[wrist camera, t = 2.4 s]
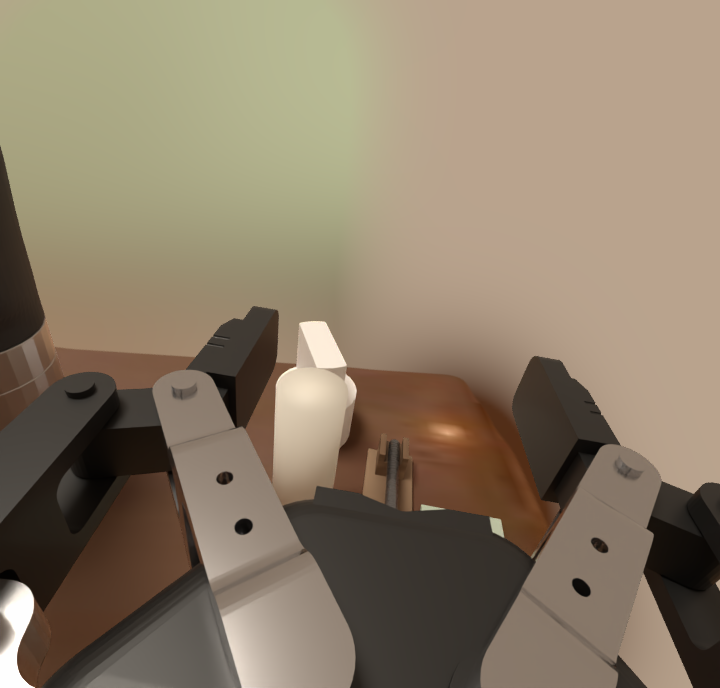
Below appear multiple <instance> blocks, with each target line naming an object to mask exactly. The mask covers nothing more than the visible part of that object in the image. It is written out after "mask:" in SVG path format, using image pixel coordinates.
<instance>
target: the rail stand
mask: <svg viewBox="0 0 720 688" xmlns="http://www.w3.org/2000/svg"><path fill="white" fill-rule="evenodd" d="M388 446H389V441H387V434H383V433H382V434H381V438H380V442H379V447H378V450H375V449H368V453H367V461H366V469H365V477H364V485H363V492H362V495H364V496H367V497H369V498H371V499H374V500H376V501H378V502H381V503H383V504H384V503H385V488H386V474H387V460H388ZM398 510H400V511H412V456H409V438H404V437H403V441H402V444H400V456H399V483H398Z"/></svg>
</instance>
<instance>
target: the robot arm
mask: <svg viewBox="0 0 720 688" xmlns="http://www.w3.org/2000/svg"><path fill="white" fill-rule="evenodd" d="M278 319H279V315H278V311H277V310H273V309H268V308H262V307H256V306H253V307H252V308H251V310H250V311H249V313H248V314H247V315H246V317H245V318H244V319H243V320H240V319H232V320H230V321H228V322H227V323H225V324H223V325H221V326H220V327H219V329H218V330H217V331H216V332H215V334H214V336H213V337H212V338H211V339H210V340H209V341H208V343H207V345H205V346H204V348H203V349H202V350H201V351H200V353H199V354H198V355H197V356H196V357H195V359H194V360H193V361H192V363H191V364H190V365H189V366H188V368H187V369H186V370H180V371H175V372H172V373H169V374H167V375H165V376H163V377H162V378H160V379H159V380H158V381H157V382H156V383H155V384H154V386H153V388H146V389H126V390H117V388H116V384H115V381H114V379H113V378H112V377H110V376H109V375H106V374H103V373H99V372H84V373H78V374H74V375H70V376H67V377H65V378H64V375H63V372H62V369H61V366H60V362H59V359H58V356H57V353H56V350H55V347H54V343H53V340H52V337H51V334H50V330H49V327H48V324H47V321H46V318H45V315H44V311H43V308H42V305H41V302H40V298H39V295H38V292H37V288H36V284H35V280H34V276H33V272H32V269H31V266H30V262H29V259H28V255H27V252H26V248H25V245H24V242H23V238H22V235H21V231H20V227H19V222H18V219H17V214H16V211H15V206H14V202H13V198H12V193H11V189H10V184H9V180H8V176H7V171H6V167H5V162H4V158H3V154H2V151H1V147H0V688H37V679H38V674H39V670H40V667H41V664H42V662H43V660H44V658H45V655H46V653H47V651H48V648H49V645H50V642H51V627H50V624H49V622H48V620H47V618H46V616H45V615H44V613H43V611H44V610H45V608H46V607H47V605H48V604H49V602H50V600H51V599H52V597H53V596H54V594H55V593H56V591H57V590H58V588H59V586H60V585H61V583H62V582H63V580H64V579H65V577H66V575H67V574H68V572H69V571H70V569H71V568H72V566H73V564H74V563H75V561H76V560H77V558H78V557H79V555H80V553H81V552H82V550H83V549H84V547H85V546H86V544H87V543H88V541H89V539H90V538H91V536H92V535H93V533H94V532H95V530H96V528H97V527H98V525H99V524H100V522H101V521H102V519H103V517H104V516H105V514H106V513H107V511H108V510H109V508H110V506H111V505H112V503H113V502H114V500H115V499H116V497H117V496H118V494H119V492H120V491H121V489H122V488H123V486H124V485H125V483H126V481H127V480H128V478H129V477H130V475H136V474H147V473H157V472H166V473H167V477H168V481H169V485H170V489H171V493H172V496H173V500H174V504H175V508H176V512H177V515H178V519H179V523H180V527H181V531H182V535H183V540H184V545H185V550H186V554H187V558H188V563H189V567H190V570H189V571H188V572H187V573H185V574H184V575H183V576H181V577H180V578H179V579H177V580H176V581H175V582H173V583H172V584H170V585H169V586H168V587H166V588H165V589H164V590H162V591H161V592H160V593H158V594H157V595H156V596H154V597H153V598H152V599H150V600H149V601H148V602H146V603H145V604H144V605H142V606H141V607H140V608H138V609H137V610H136V611H134V612H133V613H132V614H130V615H129V616H127V617H126V618H125V619H123V620H122V621H121V622H119V623H118V624H117V625H115V626H114V627H113V628H111V629H110V630H109V631H107V632H106V633H105V634H103V635H102V636H101V637H99V638H98V639H97V640H95V641H94V642H93V643H91V644H90V645H89V646H87V647H86V648H84V649H83V650H82V651H80V652H79V653H78V654H76V655H75V656H74V657H73V658H71V659H70V660H69V661H68V662H67V663H65V664H64V665H63V666H62V667H61V668H60V669H59V670H58V671H57V672H56V673H54V675H53V676H52V677H51V678H50V679H49V680H48V681H47V682H46V683H45V684H44V685H43V686H42V688H647V687H646V686H645V685H644V684H643V682H642V681H641V680H640V679H639V678H638V677H637V676H636V675H635V673H634V672H633V671H632V670H631V669H630V668H629V667H628V666H627V665H626V663H625V662H624V661H623V660H622V659H621V658H620V657H619V655H618V652H619V649H620V646H621V643H622V639H623V636H624V633H625V629H626V626H627V623H628V620H629V617H630V613H631V610H632V607H633V603H634V600H635V597H636V593H637V590H638V587H639V584H640V581H641V577H642V574H643V573H644V575H645V577H646V579H647V582H648V584H649V587H650V589H651V591H652V594H653V596H654V598H655V600H656V602H657V605H658V607H659V610H660V612H661V614H662V617H663V619H664V621H665V623H666V626H667V628H668V630H669V633H670V635H671V637H672V640H673V642H674V644H675V647H676V649H677V651H678V654H679V656H680V658H681V660H682V663H683V665H684V667H685V670H686V672H687V674H688V677H689V679H690V681H691V684H692V686H693V688H720V591H719V589H718V587H717V585H716V584H715V583H716V582H717V581H718V580H720V484H717V483H705V484H703V485H702V486H701V487H700V488H699V489H698V490H697V491H696V492H695V493H694V494H692V493H690V492H687V491H685V490H682V489H680V488H677V487H675V486H672V485H670V484H667V483H665V482H662V481H661V476H660V474H659V472H658V471H657V469H656V468H655V467H654V466H653V465H652V464H651V463H650V462H649V461H648V460H647V459H646V458H644V457H643V456H642V455H640V454H638V453H637V452H635V451H633V450H631V449H629V448H626V447H623V446H621V445H620V443H619V442H618V440H617V438H616V437H615V435H614V433H613V432H612V430H611V428H610V427H609V425H608V423H607V422H606V420H605V419H604V417H603V416H602V415H601V412H600V410H599V408H598V407H597V405H595V402H594V400H593V398H592V397H591V395H590V393H589V392H588V390H586V389H585V388H584V387H583V386H582V385H581V384H580V383H579V382H577V380H575V379H572V378H571V377H570V376H569V374H568V372H567V370H566V368H565V367H564V365H563V363H562V362H561V361H560V360H555V359H550V358H543V357H538V356H534V357H533V358H532V359H531V360H530V362H529V364H528V366H527V368H526V371H525V373H524V375H523V377H522V379H521V382H520V384H519V386H518V388H517V391H516V393H515V395H514V399H513V406H512V409H513V415H514V418H515V421H516V424H517V428H518V430H519V433H520V437H521V440H522V443H523V446H524V449H525V452H526V455H527V458H528V461H529V464H530V468H531V470H532V474H533V477H534V480H535V483H536V486H537V489H538V492H539V495H540V498H541V500H544V501H550V502H555V503H559V505H560V510H559V511H558V513H557V514H556V516H555V518H554V519H553V521H552V523H551V524H550V526H549V528H548V529H547V531H546V533H545V534H544V536H543V538H542V539H541V541H540V543H539V544H538V546H537V548H536V550H535V551H534V553H533V555H532V556H531V557H530V556H529V555H527V554H526V553H525V552H524V551H523V550H521V549H520V548H519V547H518V546H516V545H515V544H513V543H512V542H510V541H509V540H507V539H505V538H503V537H501V536H500V535H498V534H496V533H493V532H492V527H491V522H490V517H488V516H483V515H477V514H471V513H466V512H460V511H455V510H449V509H440V510H423V511H400V510H398V509H395V508H393V507H390V506H388V505H386V504H383V503H381V502H378V501H376V500H374V499H371V498H369V497H367V496H364V495H362V494H359V493H354V492H349V491H343V490H337V489H332V488H326V487H321V486H317V487H316V491H315V496H314V499H309V500H301V501H295V502H292V503H289V504H285V505H283V506H282V504H281V502H280V500H279V498H278V496H277V494H276V492H275V490H274V488H273V486H272V484H271V482H270V480H269V477H268V475H267V473H266V471H265V469H264V467H263V465H262V463H261V461H260V459H259V457H258V455H257V453H256V451H255V449H254V447H253V445H252V443H251V441H250V439H249V436H248V434H247V432H246V431H245V428H246V426H247V424H248V422H249V420H250V417H251V415H252V413H253V411H254V409H255V407H256V405H257V403H258V401H259V399H260V397H261V395H262V393H263V390H264V388H265V386H266V384H267V382H268V380H269V378H270V376H271V374H272V372H273V369H274V366H275V363H276V358H277V345H278Z"/></svg>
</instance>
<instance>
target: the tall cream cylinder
mask: <svg viewBox="0 0 720 688" xmlns="http://www.w3.org/2000/svg"><path fill="white" fill-rule="evenodd" d="M347 398H348V388H347V385H346V383H345V382H344V381H343V380H342V378H340V377H339V376H338V375H336V374H334V373H332V372H330V371H328V370H324V369H320V368H300V369H295V370H292V371H290V372H288V373H286V374H285V375H283V376H282V377H281V378H280V379H279V381H278V383H277V387H276V408H275V433H274V458H273V483H272V486H273V488H274V490H275V492H276V494H277V496H278V498H279V500H280V502H281V504H282V506H283V505H285V504H289V503H292V502H295V501H301V500H309V499H314V496H315V491H316V487H317V486H321V487H326V488H332V489H333V485H334V479H335V473H336V466H337V460H338V454H339V448H340V441H341V435H342V429H343V423H344V416H345V410H346V404H347Z"/></svg>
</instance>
